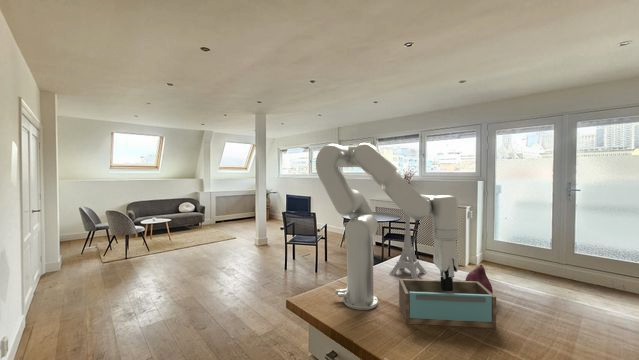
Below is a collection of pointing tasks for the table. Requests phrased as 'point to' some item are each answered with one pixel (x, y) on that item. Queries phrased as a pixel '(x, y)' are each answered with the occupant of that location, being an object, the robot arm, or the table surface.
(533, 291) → the table surface
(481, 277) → the vegetable
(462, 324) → the tray
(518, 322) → the table surface
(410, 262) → the eiffel tower
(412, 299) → the panel
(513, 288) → the table surface
